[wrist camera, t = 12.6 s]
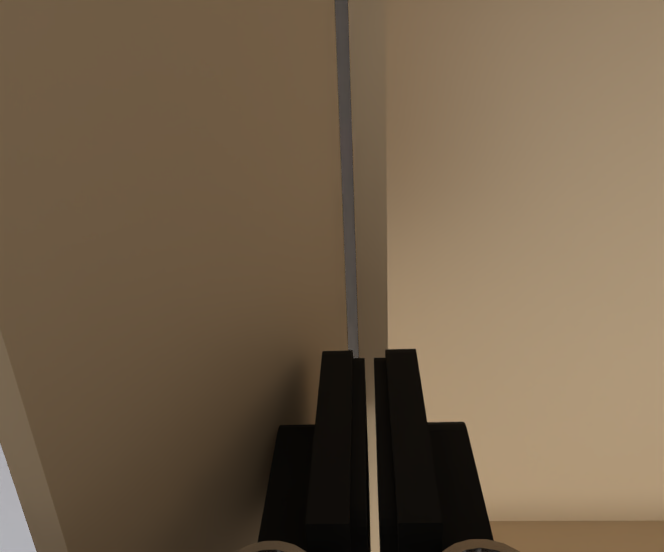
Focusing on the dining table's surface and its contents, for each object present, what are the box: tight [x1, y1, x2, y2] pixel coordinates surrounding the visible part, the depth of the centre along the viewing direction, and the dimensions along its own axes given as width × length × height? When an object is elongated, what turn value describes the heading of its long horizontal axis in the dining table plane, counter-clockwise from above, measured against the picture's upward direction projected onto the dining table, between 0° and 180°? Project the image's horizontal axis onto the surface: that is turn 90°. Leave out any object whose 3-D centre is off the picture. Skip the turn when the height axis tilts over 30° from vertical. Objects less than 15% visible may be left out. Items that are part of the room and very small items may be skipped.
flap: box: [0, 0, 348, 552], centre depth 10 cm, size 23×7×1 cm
